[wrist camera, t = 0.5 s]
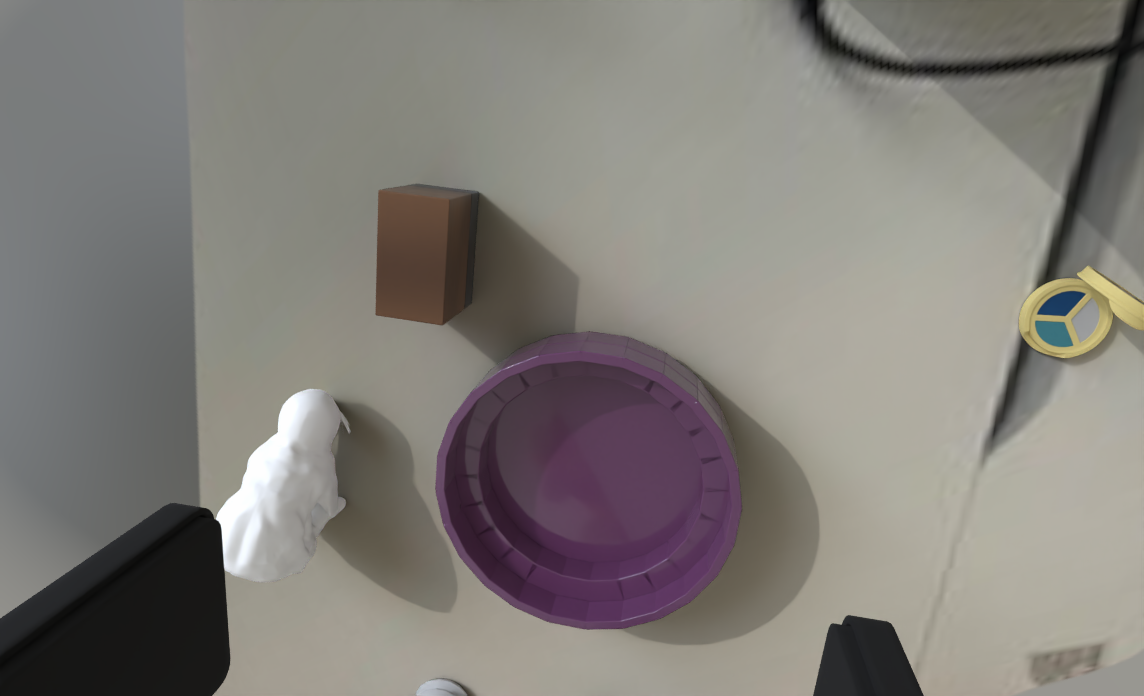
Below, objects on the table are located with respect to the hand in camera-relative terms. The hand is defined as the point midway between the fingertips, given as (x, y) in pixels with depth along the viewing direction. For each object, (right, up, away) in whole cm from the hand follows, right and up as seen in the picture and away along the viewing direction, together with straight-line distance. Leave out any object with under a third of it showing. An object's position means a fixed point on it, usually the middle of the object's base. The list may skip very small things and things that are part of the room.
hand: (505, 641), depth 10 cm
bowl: (+2, -3, +35) cm, 36 cm away
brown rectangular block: (-7, +11, +33) cm, 35 cm away
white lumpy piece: (-17, -3, +39) cm, 42 cm away
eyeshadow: (+29, +6, +28) cm, 41 cm away
